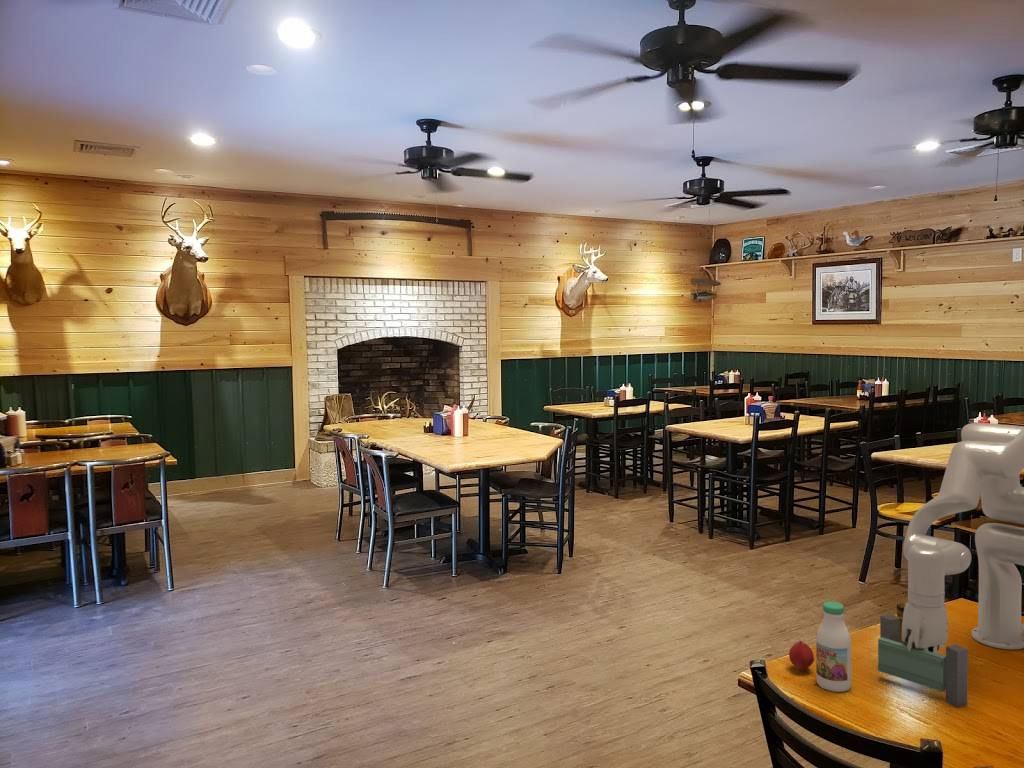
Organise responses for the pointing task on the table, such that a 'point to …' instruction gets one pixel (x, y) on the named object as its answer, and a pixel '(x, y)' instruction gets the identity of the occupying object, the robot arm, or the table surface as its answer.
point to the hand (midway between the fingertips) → (925, 672)
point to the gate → (912, 664)
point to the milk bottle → (833, 650)
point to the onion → (801, 655)
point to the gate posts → (954, 662)
